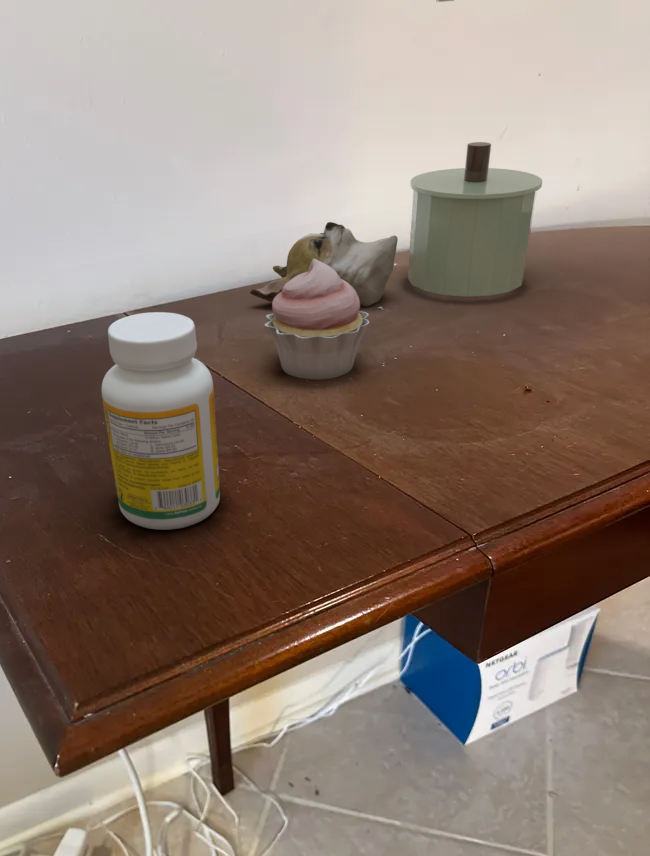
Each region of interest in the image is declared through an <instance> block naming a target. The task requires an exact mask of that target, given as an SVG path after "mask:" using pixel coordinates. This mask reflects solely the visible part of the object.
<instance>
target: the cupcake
mask: <svg viewBox="0 0 650 856" xmlns="http://www.w3.org/2000/svg"><path fill="white" fill-rule="evenodd" d="M271 303H272V304H271V310H272V313H269V314H266V315H265V318H266V319H267V322H266V323H265V324H264V327H265V329H266V330H267V332H268V334H269V335H270V337H271V339H272V340H273V343H274V345H275V347H276V352H277V355H278V358H279V362H280V366H281V369H282V371H284V373H286V374H287V375H289V376H292V377H295V378H298V379H305V380H316V381H317V380H328V379H333V378H334V379H335V378H338V377H341V376H343V375H346V374H348V373H349V372H351V371H352V369H353V367H354V363H355V360H356V356H357V352H358V349H359V347H360V343H361V341H362V339H363V336H364V335H365V332H366V330H367V329H368V327H369V324H370V320H368V317H369V316H370V314H369V313H368V312H366V311H362V310H360V309H361V303H360V301H359V297H358V295H357V293H356V291H355V290H354V288H353V287H352V286H351V285H350V284H349V283H347V282H346V281H344V280H342V279H341V278H340V276H339V275H338V274H337V273H336V271H335V270H334V269H332V268H331V267H330V266H328V265H326V264H324V263H322V262H320V261H318V260H316V259H313V260H312V262H311V264H310V267H309V272H305V273H302V274H300V275H297V276H296V277H294V278H293V279H291V280H290V281H289V282H287V283H286V284H285V286H284V288H283V290H282V292H280V293H279V294H278V295H277V296H276V297H275V298H274V299H273V302H271Z"/></svg>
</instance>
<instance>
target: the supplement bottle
mask: <svg viewBox="0 0 650 856" xmlns="http://www.w3.org/2000/svg"><path fill="white" fill-rule="evenodd" d="M107 337H108V338H107V339H108V347H109V354H110V356H111V359H112V361H113V363H114V365H113V366H112V367H110V368H109V369H108V371H107V372H106V373H105V374H104V377H103V380H102V382H101V388H100V389H101V398H102V399H101V400H102V406H103V407H102V408H103V412H104V419H105V425H106V431H107V436H108V438H107V439H108V446H109V452H110V459H111V465H112V471H113V476H114V483H115V490H116V496H117V499H118V501H117V502H118V507H119V511H120V513H122V515H123V516H124V517H125V519H126V520H128V521H129V522H131V523H132V524H134V525H136V526H139V527H141V528H146V529H150V530H158V531H169V530H177V529H183V528H188V527H191V526H193V525H196V524H198V523H200V522H202V521H203V520H205V519H207V518H209V516H210V515H212V514H213V513H214V511H215V510H216V509H217V507H218V506H219V504H220V499H221V490H220V489H221V487H220V486H221V485H220V471H219V470H220V469H219V468H220V467H219V455H218V440H217V439H218V437H217V423H216V405H215V390H214V389H215V388H214V380H213V376H212V374H211V372H210V370H209V368H208V367H207V366H206V365H205V364H204V363H203V362H202V361H200V360H199V359H197V358H195V356H196V352H197V349H198V342H197V334H196V326H195V322H194V321H193V319H191V318H190V317H188V316H185V315H183V314H179V313H175V312H165V311H153V312H152V311H151V312H149V311H148V312H142V313H140V312H139V313H135V314H132V315H128V316H124V317H121V318H119V319H117V320H115V321H114V322H112V323H111V324H110V325H109V327H108V329H107Z"/></svg>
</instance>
